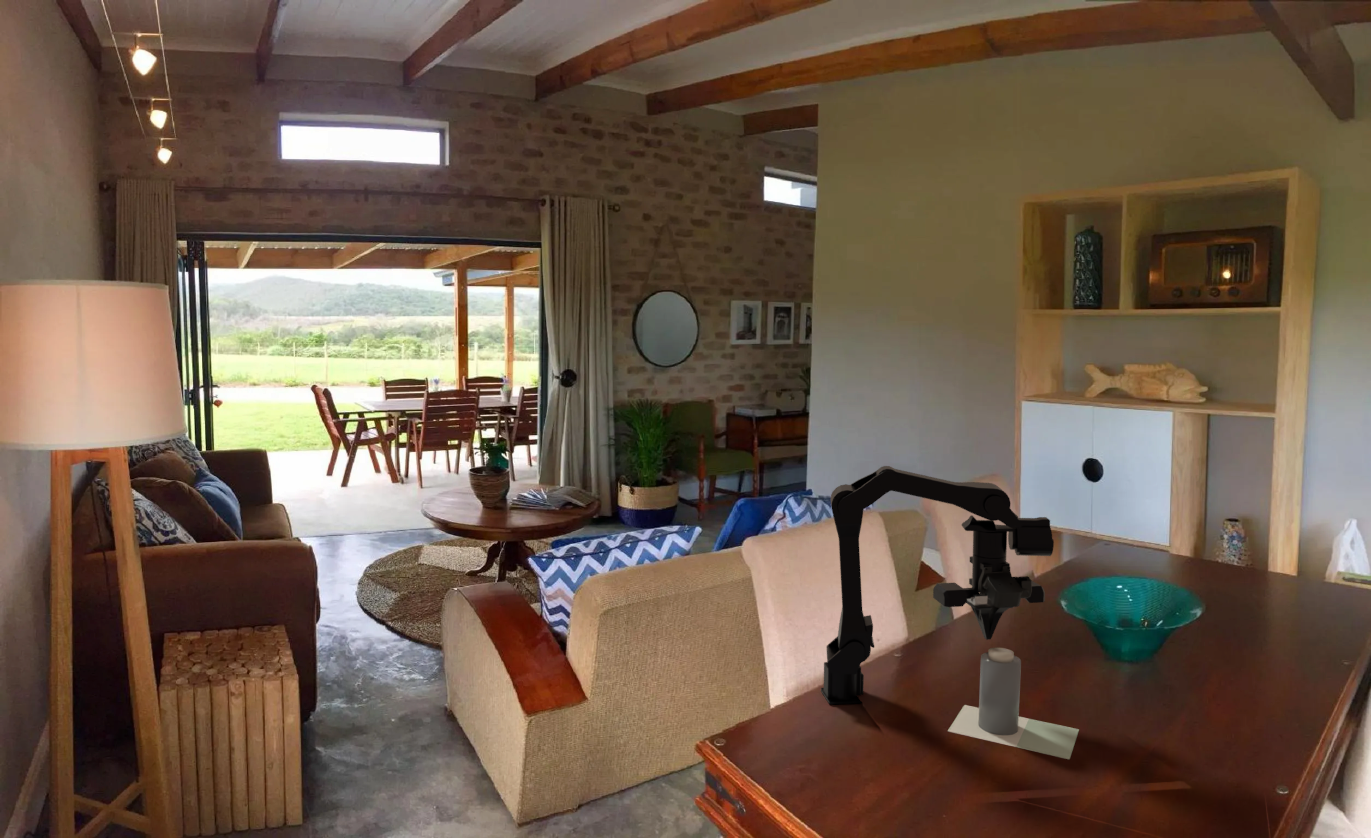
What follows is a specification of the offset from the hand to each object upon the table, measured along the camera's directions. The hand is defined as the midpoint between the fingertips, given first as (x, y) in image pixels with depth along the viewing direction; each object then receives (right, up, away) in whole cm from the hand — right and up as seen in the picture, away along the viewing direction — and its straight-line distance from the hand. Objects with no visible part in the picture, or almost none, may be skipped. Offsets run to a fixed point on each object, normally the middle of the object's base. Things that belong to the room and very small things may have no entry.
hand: (987, 638), depth 160 cm
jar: (-1, -13, -9) cm, 16 cm away
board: (+1, -14, -11) cm, 17 cm away
